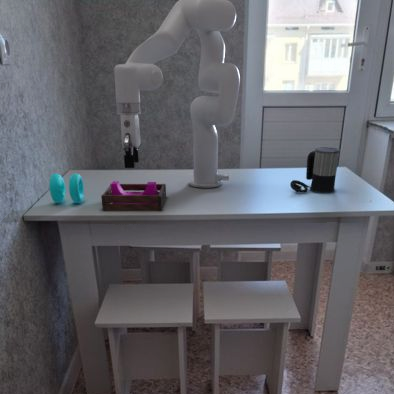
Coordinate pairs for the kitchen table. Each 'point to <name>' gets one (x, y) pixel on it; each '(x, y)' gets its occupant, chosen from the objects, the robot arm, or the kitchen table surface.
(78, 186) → the donuts
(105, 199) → the crate
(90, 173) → the kitchen table surface
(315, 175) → the milk frother
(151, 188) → the magenta cradle bracket
